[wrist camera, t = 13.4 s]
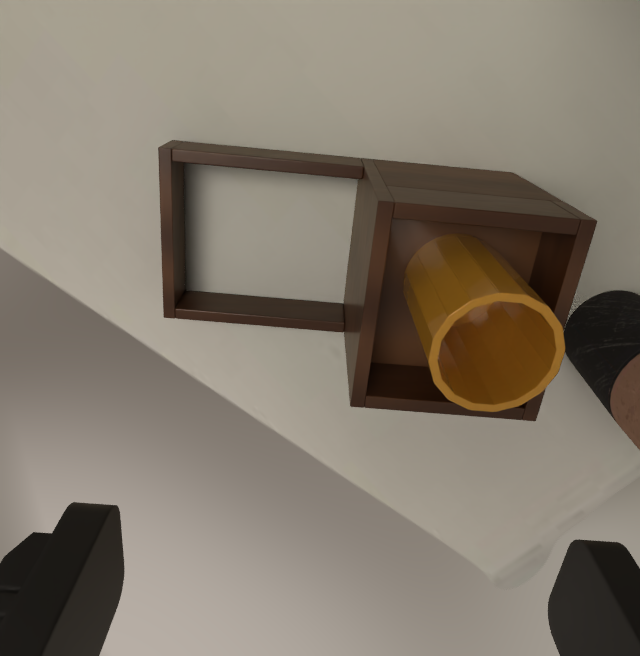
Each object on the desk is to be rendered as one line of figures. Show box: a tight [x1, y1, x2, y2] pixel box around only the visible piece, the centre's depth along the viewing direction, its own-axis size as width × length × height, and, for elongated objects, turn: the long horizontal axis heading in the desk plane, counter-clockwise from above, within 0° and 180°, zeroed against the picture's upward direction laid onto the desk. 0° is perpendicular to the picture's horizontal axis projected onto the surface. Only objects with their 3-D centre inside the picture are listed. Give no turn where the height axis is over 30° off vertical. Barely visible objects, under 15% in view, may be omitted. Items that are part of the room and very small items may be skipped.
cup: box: [403, 233, 565, 412], centre depth 28 cm, size 6×6×9 cm
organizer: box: [158, 140, 597, 421], centre depth 35 cm, size 12×23×13 cm, turn 85°
